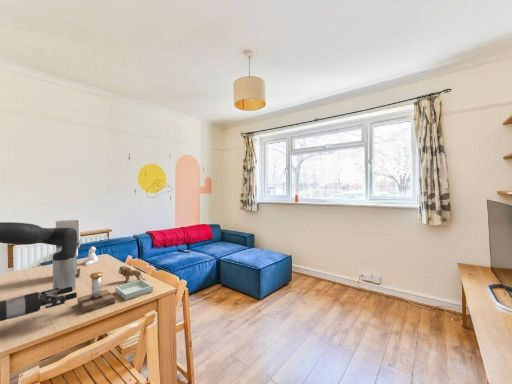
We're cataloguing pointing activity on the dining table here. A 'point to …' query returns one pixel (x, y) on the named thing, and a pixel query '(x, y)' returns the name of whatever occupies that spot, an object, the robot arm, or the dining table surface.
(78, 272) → the tall grey pillar
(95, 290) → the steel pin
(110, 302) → the block
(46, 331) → the dining table surface
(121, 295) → the tray
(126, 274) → the lion figurine
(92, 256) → the sitting furry creature
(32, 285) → the dining table surface
